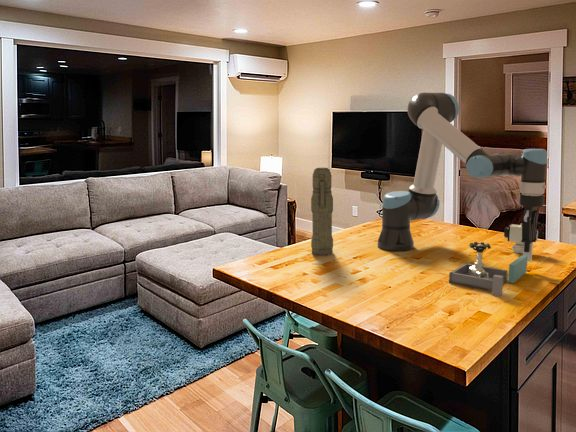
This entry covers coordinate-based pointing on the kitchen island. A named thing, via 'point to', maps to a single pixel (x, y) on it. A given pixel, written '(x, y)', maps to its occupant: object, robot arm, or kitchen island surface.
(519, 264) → the gate
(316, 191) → the grey carved statue
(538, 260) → the kitchen island surface
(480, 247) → the valve
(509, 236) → the pneumatic valve
